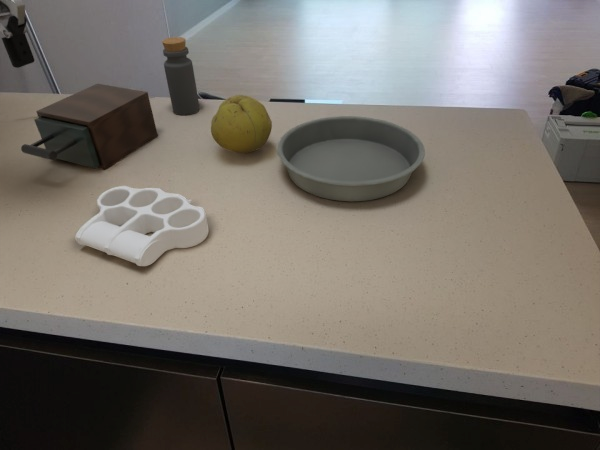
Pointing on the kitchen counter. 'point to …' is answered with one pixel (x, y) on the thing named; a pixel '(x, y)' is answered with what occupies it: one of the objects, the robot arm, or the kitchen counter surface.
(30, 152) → the drawer
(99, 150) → the cabinet
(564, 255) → the kitchen counter surface
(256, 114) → the fruit
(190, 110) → the bottle
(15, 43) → the robot arm
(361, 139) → the cake pan
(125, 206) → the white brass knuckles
